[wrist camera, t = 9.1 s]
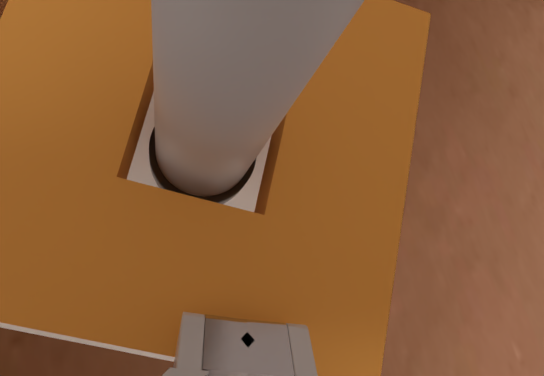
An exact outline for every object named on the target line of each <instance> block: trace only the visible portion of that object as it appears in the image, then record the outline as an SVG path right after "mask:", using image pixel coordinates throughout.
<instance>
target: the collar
mask: <svg viewBox="0 0 544 376" xmlns="http://www.w3.org/2000/svg"><path fill="white" fill-rule="evenodd" d="M430 17H431V13H428V12H425V11H422V10H419V9H416V8H414V7H411V6H408V5H405V4H402V3H400V2H397V1H394V0H364V2H363V3H362V5H361V6H360V8H359V9H358V11H357V12H356V13H355V15H354V16H353V18H352V19H351V21H350V22H349V24H348V25H347V26H346V28H345V29H344V31H343V32H342V34H341V35H340V37H339V38H338V40H337V41H336V42H335V44H334V45H333V47H332V48H331V50H330V51H329V53H328V54H327V56H326V57H325V58H324V60H323V61H322V63H321V64H320V66H319V67H318V69H317V70H316V72H315V73H314V74H313V76H312V77H311V79H310V80H309V82H308V83H307V85H306V86H305V87H304V89H303V90H302V92H301V93H300V95H299V96H298V98H297V99H296V101H295V102H294V103H293V105H292V106H291V108H290V109H289V111H288V112H287V114H286V115H285V117H284V118H283V119H282V121H281V122H280V124H279V125H278V127H277V128H276V130H275V131H274V133H273V134H272V136H271V140H270V144H269V149H268V153H267V158H266V162H265V167H264V171H263V175H262V180H261V184H260V189H259V193H258V197H257V202H256V206H255V211H254V212H251V211H247V210H243V209H239V208H235V207H231V206H227V205H224V204H220V203H216V202H212V201H208V200H204V199H200V198H197V197H193V196H189V195H185V194H181V193H177V192H173V191H169V190H166V189H162V188H158V187H154V186H150V185H146V184H142V183H138V182H135V181H131V180H127V176H128V173H129V169H130V166H131V163H132V160H133V156H134V153H135V150H136V147H137V143H138V140H139V137H140V134H141V130H142V127H143V124H144V121H145V117H146V114H147V111H148V108H149V104H150V101H151V98H152V95H153V91H154V83H153V47H152V11H151V0H8V2H7V4H6V7H5V9H4V11H3V14H2V16H1V18H0V322H1V323H6V324H11V325H16V326H21V327H26V328H31V329H36V330H41V331H46V332H51V333H56V334H61V335H66V336H71V337H76V338H81V339H86V340H91V341H96V342H101V343H106V344H111V345H116V346H121V347H126V348H131V349H136V350H141V351H146V352H151V353H156V354H161V355H166V356H171V357H175V352H176V347H177V341H178V335H179V330H180V324H181V319H182V314H183V312H190V313H197V314H204V316H205V314H208V315H216V316H223V317H231V318H239V319H249V320H259V321H269V322H279V323H285V324H286V323H291V324H302V325H306V326H307V327H308V330H309V335H310V340H311V345H312V350H313V355H314V360H315V365H316V370H317V375H318V376H381V369H382V362H383V355H384V348H385V341H386V333H387V326H388V319H389V312H390V305H391V297H392V290H393V283H394V276H395V269H396V261H397V254H398V247H399V240H400V233H401V225H402V218H403V211H404V204H405V197H406V189H407V182H408V175H409V168H410V161H411V153H412V146H413V139H414V132H415V125H416V117H417V110H418V103H419V96H420V89H421V81H422V74H423V67H424V60H425V53H426V45H427V38H428V31H429V24H430Z"/></svg>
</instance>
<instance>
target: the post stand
mask: <svg viewBox="0 0 544 376" xmlns="http://www.w3.org/2000/svg"><path fill="white" fill-rule="evenodd" d="M363 2H364V0H151V11H152V47H153V83H154V91H153V95H152V98H151V101H150V104H149V108H148V111H147V114H146V117H145V121H144V124H143V127H142V130H141V134H140V137H139V140H138V143H137V147H136V150H135V153H134V156H133V160H132V163H131V166H130V169H129V173H128V176H127V180H131V181H135V182H138V183H142V184H146V185H150V186H154V187H158V188H162V189H166V190H169V191H173V192H177V193H181V194H185V195H189V196H193V197H197V198H200V199H204V200H208V201H212V202H216V203H220V204H224V205H227V206H231V207H235V208H239V209H243V210H247V211H251V212H254V211H255V206H256V202H257V197H258V193H259V189H260V184H261V180H262V175H263V171H264V167H265V162H266V158H267V153H268V149H269V144H270V140H271V136H272V134H273V133H274V131H275V130H276V128H277V127H278V125H279V124H280V122H281V121H282V119H283V118H284V117H285V115H286V114H287V112H288V111H289V109H290V108H291V106H292V105H293V103H294V102H295V101H296V99H297V98H298V96H299V95H300V93H301V92H302V90H303V89H304V87H305V86H306V85H307V83H308V82H309V80H310V79H311V77H312V76H313V74H314V73H315V72H316V70H317V69H318V67H319V66H320V64H321V63H322V61H323V60H324V58H325V57H326V56H327V54H328V53H329V51H330V50H331V48H332V47H333V45H334V44H335V42H336V41H337V40H338V38H339V37H340V35H341V34H342V32H343V31H344V29H345V28H346V26H347V25H348V24H349V22H350V21H351V19H352V18H353V16H354V15H355V13H356V12H357V11H358V9H359V8H360V6H361V5H362V3H363ZM0 327H1V328H6V329H11V330H16V331H21V332H26V333H31V334H36V335H41V336H46V337H51V338H57V339H62V340H67V341H72V342H77V343H82V344H87V345H92V346H97V347H102V348H107V349H112V350H117V351H122V352H127V353H132V354H137V355H142V356H147V357H152V358H158V359H163V360H168V361H173V362H174V358H175V357H171V356H166V355H161V354H156V353H151V352H146V351H141V350H136V349H131V348H126V347H121V346H116V345H111V344H106V343H101V342H96V341H91V340H86V339H81V338H76V337H71V336H66V335H61V334H56V333H51V332H46V331H41V330H36V329H31V328H26V327H21V326H16V325H11V324H6V323H1V322H0Z"/></svg>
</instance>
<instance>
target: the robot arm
mask: <svg viewBox="0 0 544 376" xmlns="http://www.w3.org/2000/svg"><path fill="white" fill-rule="evenodd" d="M162 376H318V375H317V370H316V365H315V360H314V355H313V350H312V345H311V340H310V335H309V330H308V327H307V326H306V325H302V324H291V323H286V324H285V323H279V322H269V321H259V320H249V319H239V318H231V317H223V316H216V315H208V314H205V316H204V314H197V313H190V312H183V314H182V319H181V324H180V330H179V335H178V341H177V347H176V352H175V358H174V364H173V368H169V369H168V370H167V371H166V372H165V373H164V374H163V375H162Z"/></svg>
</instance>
